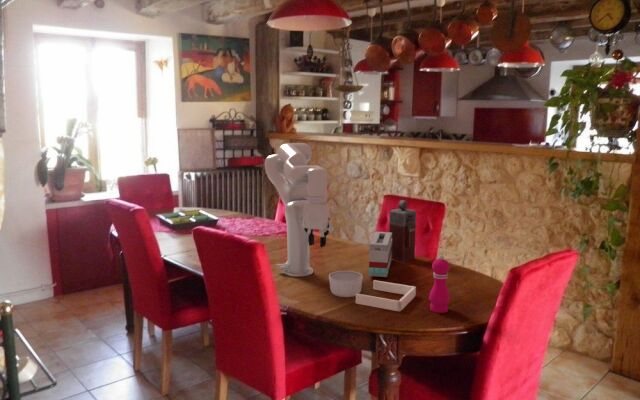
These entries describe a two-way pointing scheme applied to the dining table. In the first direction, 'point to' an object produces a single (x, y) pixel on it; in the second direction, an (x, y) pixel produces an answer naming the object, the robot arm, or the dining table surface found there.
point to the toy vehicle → (380, 254)
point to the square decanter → (403, 232)
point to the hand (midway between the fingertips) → (317, 245)
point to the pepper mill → (440, 286)
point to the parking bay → (385, 303)
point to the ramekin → (345, 283)
